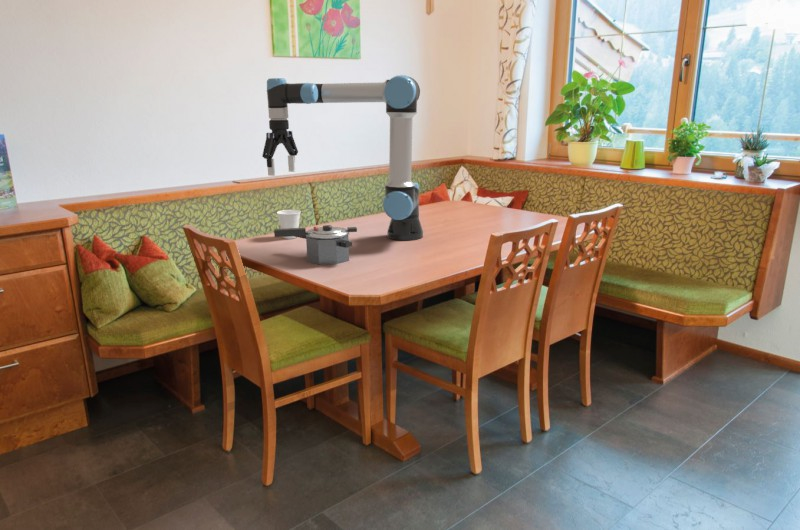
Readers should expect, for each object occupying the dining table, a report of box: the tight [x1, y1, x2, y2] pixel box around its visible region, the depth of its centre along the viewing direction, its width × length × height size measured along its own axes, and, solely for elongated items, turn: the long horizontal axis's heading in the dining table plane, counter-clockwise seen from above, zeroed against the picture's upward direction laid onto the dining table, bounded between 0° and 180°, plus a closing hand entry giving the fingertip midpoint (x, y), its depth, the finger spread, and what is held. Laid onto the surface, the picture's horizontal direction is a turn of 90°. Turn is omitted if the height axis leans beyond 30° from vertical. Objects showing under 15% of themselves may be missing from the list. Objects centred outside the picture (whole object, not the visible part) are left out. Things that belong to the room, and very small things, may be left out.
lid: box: [273, 224, 358, 239], centre depth 218 cm, size 29×16×3 cm, turn 100°
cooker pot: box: [295, 235, 353, 266], centre depth 223 cm, size 29×15×9 cm, turn 50°
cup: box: [276, 209, 302, 240], centre depth 255 cm, size 10×10×11 cm
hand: (282, 173), depth 244 cm, fingers open, 13 cm apart
